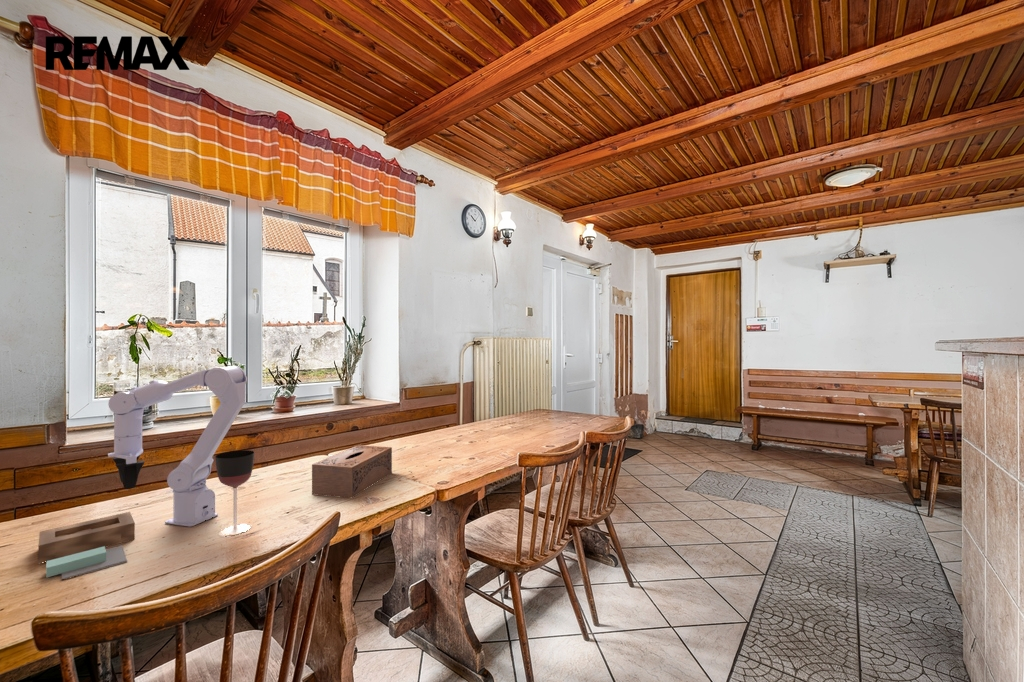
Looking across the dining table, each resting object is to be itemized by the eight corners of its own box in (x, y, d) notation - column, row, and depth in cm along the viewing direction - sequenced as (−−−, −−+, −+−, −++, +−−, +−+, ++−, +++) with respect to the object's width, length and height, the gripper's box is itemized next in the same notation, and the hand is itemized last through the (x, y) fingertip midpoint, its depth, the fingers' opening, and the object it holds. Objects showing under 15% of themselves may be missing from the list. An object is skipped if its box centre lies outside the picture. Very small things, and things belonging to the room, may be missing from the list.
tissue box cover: (357, 471, 161) (357, 445, 161) (391, 473, 158) (391, 447, 158) (311, 495, 136) (312, 464, 136) (351, 498, 133) (351, 467, 133)
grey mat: (122, 547, 101) (122, 545, 101) (127, 561, 94) (127, 560, 94) (61, 563, 94) (61, 561, 94) (61, 580, 87) (61, 578, 87)
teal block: (104, 554, 97) (104, 546, 97) (106, 561, 94) (106, 552, 94) (46, 570, 90) (46, 561, 90) (46, 577, 87) (46, 568, 87)
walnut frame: (129, 527, 112) (129, 511, 112) (134, 539, 105) (134, 522, 105) (39, 549, 100) (39, 531, 100) (38, 564, 93) (38, 545, 93)
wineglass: (226, 523, 114) (226, 450, 114) (260, 522, 115) (260, 449, 115) (208, 537, 106) (208, 458, 106) (244, 536, 107) (244, 458, 107)
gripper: (106, 433, 117) (105, 482, 117) (110, 442, 107) (110, 495, 107) (139, 429, 122) (139, 476, 122) (147, 437, 112) (146, 488, 112)
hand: (128, 484), depth 115 cm, fingers open, 7 cm apart
